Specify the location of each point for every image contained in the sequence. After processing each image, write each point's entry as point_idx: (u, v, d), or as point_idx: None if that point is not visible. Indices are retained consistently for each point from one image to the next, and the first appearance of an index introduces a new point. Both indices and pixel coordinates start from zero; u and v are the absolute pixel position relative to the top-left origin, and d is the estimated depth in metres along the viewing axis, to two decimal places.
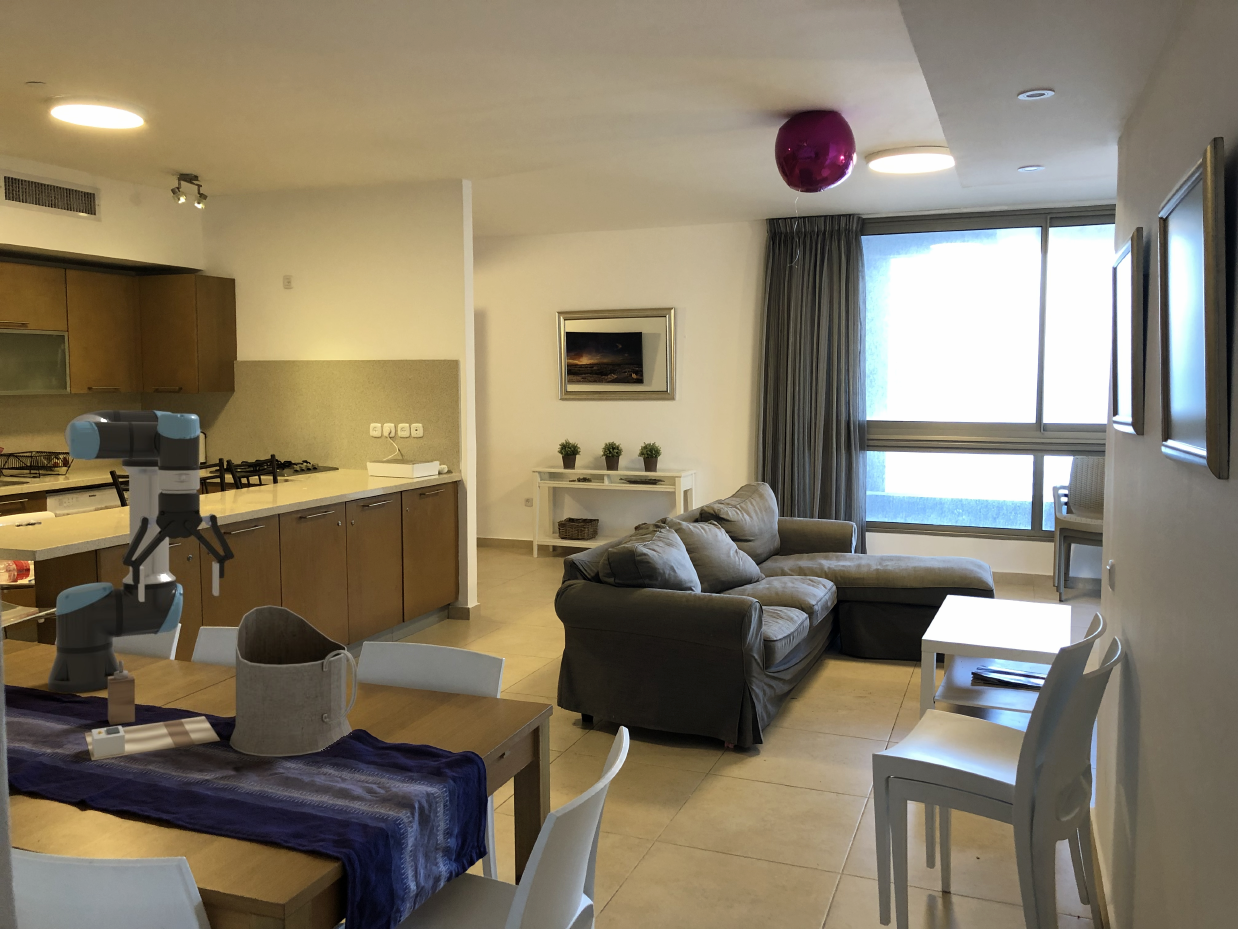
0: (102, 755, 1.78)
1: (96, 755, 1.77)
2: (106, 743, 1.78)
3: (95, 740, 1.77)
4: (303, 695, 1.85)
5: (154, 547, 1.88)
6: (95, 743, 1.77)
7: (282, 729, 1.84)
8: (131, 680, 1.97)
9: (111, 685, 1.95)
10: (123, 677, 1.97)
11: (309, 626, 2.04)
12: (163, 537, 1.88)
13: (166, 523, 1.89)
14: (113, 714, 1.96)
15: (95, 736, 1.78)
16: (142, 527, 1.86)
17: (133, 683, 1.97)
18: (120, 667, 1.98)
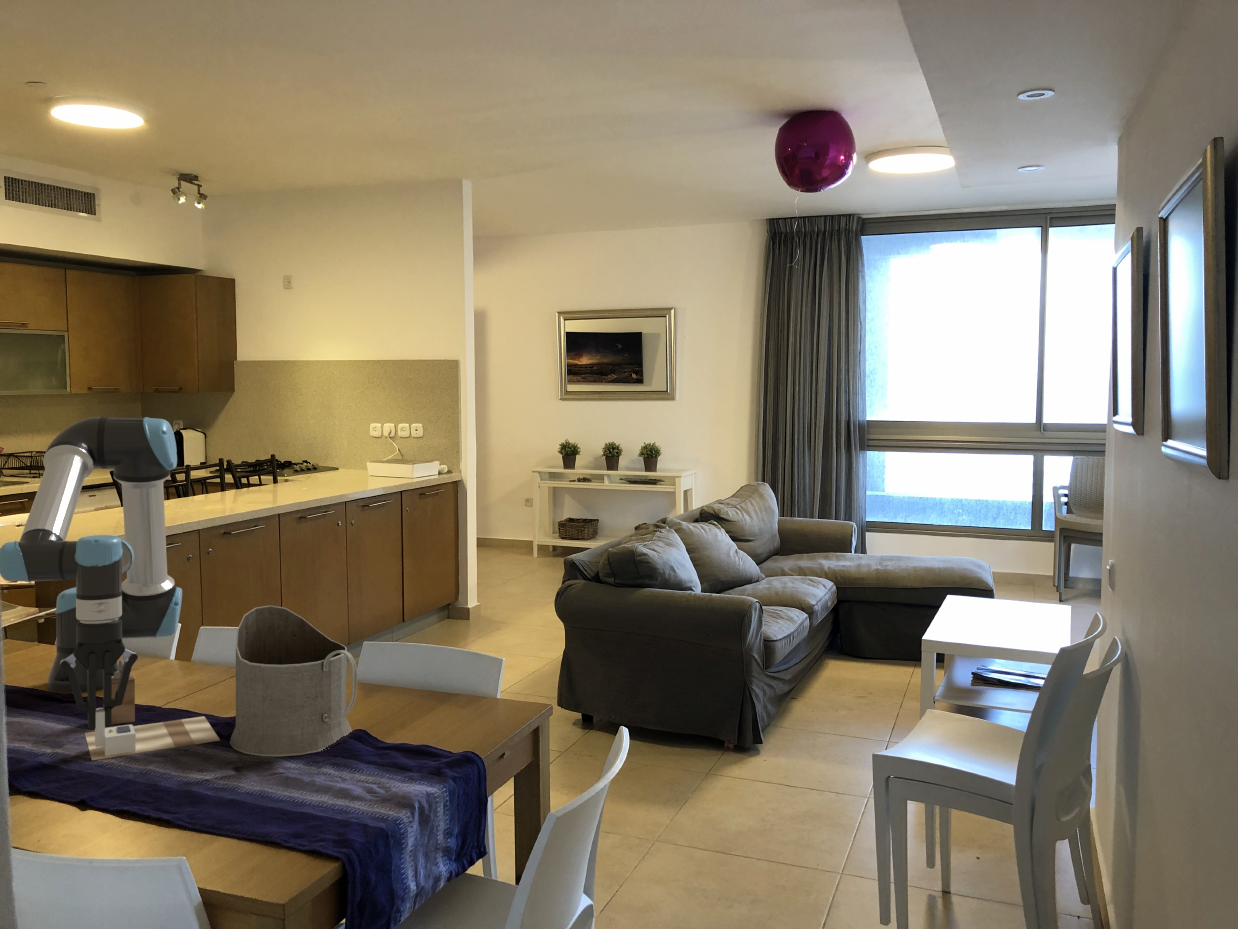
0: (113, 753, 1.79)
1: (107, 753, 1.78)
2: (117, 742, 1.79)
3: (106, 738, 1.78)
4: (303, 695, 1.85)
5: (93, 685, 1.78)
6: (106, 741, 1.78)
7: (282, 729, 1.84)
8: (131, 680, 1.97)
9: None
10: None
11: (309, 626, 2.04)
12: (93, 672, 1.77)
13: (85, 652, 1.77)
14: (113, 714, 1.96)
15: (106, 734, 1.79)
16: (67, 672, 1.75)
17: (133, 683, 1.97)
18: (120, 667, 1.98)
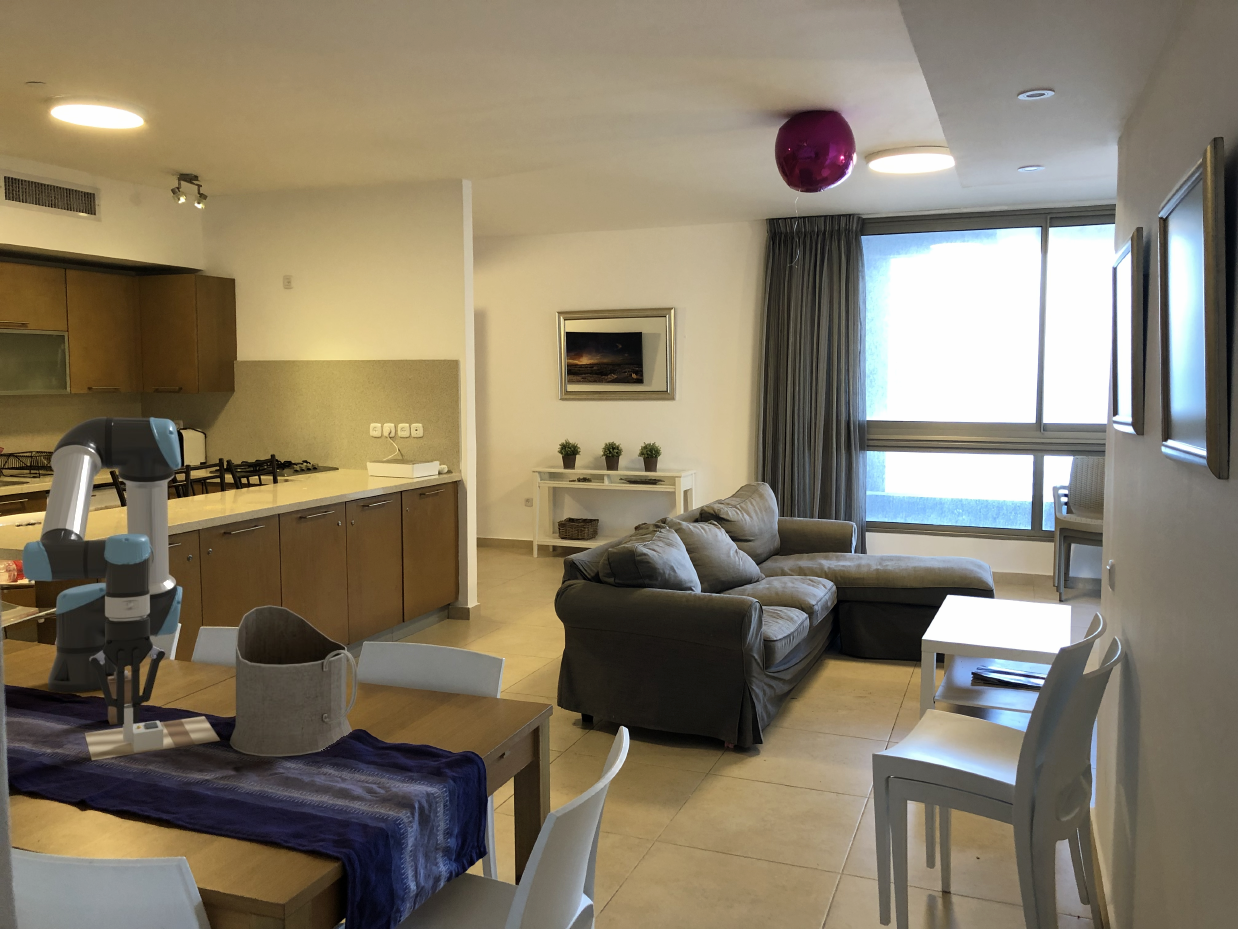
0: (141, 749, 1.81)
1: (136, 749, 1.81)
2: (145, 737, 1.81)
3: (135, 734, 1.80)
4: (303, 695, 1.85)
5: (122, 681, 1.80)
6: (135, 737, 1.80)
7: (282, 729, 1.84)
8: None
9: (111, 685, 1.95)
10: None
11: (309, 626, 2.04)
12: (122, 669, 1.80)
13: (114, 649, 1.79)
14: (113, 714, 1.96)
15: (134, 731, 1.82)
16: (96, 668, 1.78)
17: None
18: None
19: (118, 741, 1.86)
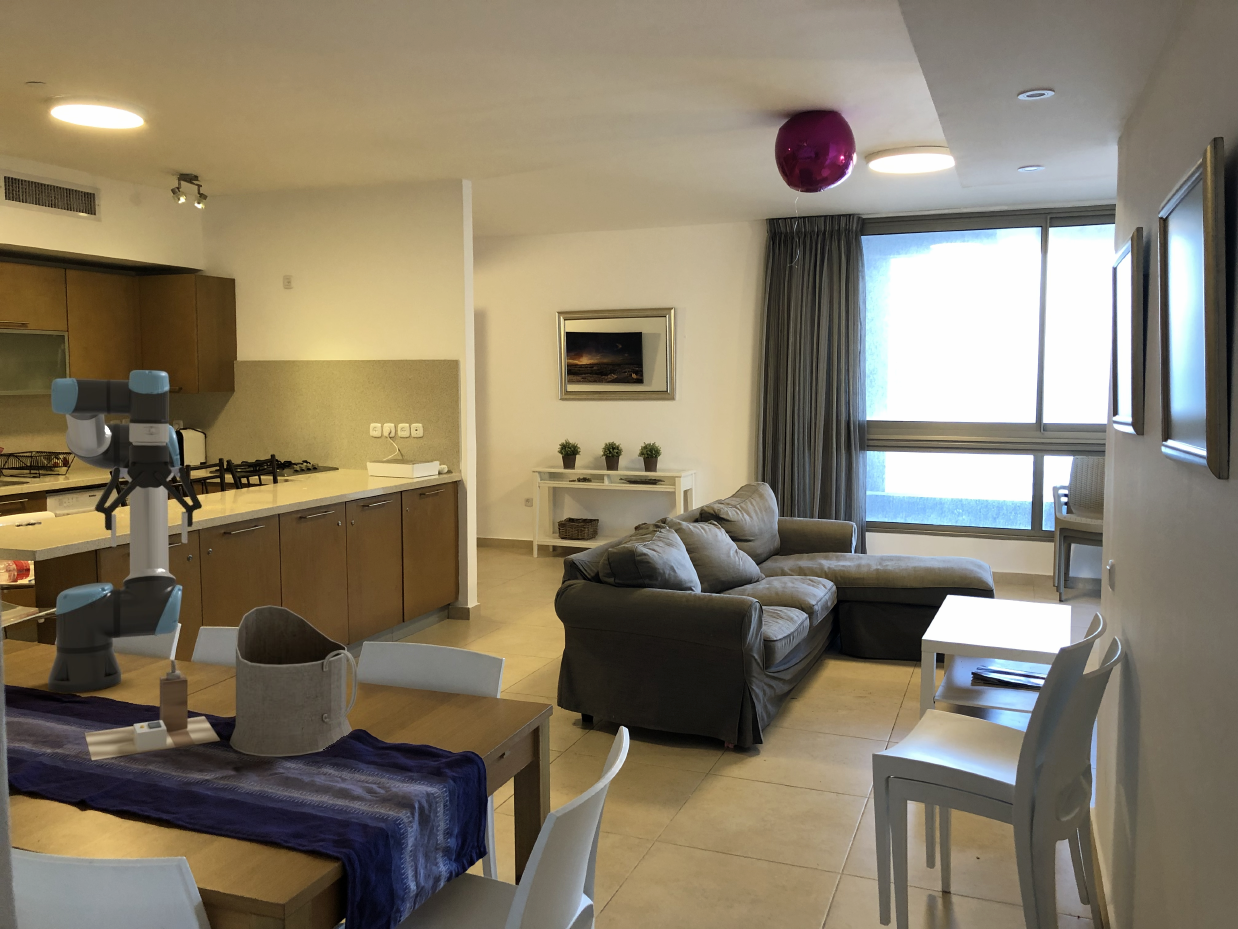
0: (145, 749, 1.81)
1: (139, 749, 1.81)
2: (148, 737, 1.82)
3: (138, 734, 1.81)
4: (303, 695, 1.85)
5: (125, 495, 2.00)
6: (138, 737, 1.81)
7: (282, 729, 1.84)
8: (184, 680, 1.93)
9: (164, 685, 1.91)
10: (176, 677, 1.93)
11: (309, 626, 2.04)
12: (134, 486, 2.00)
13: (137, 473, 2.01)
14: (166, 714, 1.92)
15: (138, 730, 1.82)
16: (113, 477, 1.99)
17: (186, 683, 1.94)
18: (172, 667, 1.94)
19: (118, 741, 1.86)
